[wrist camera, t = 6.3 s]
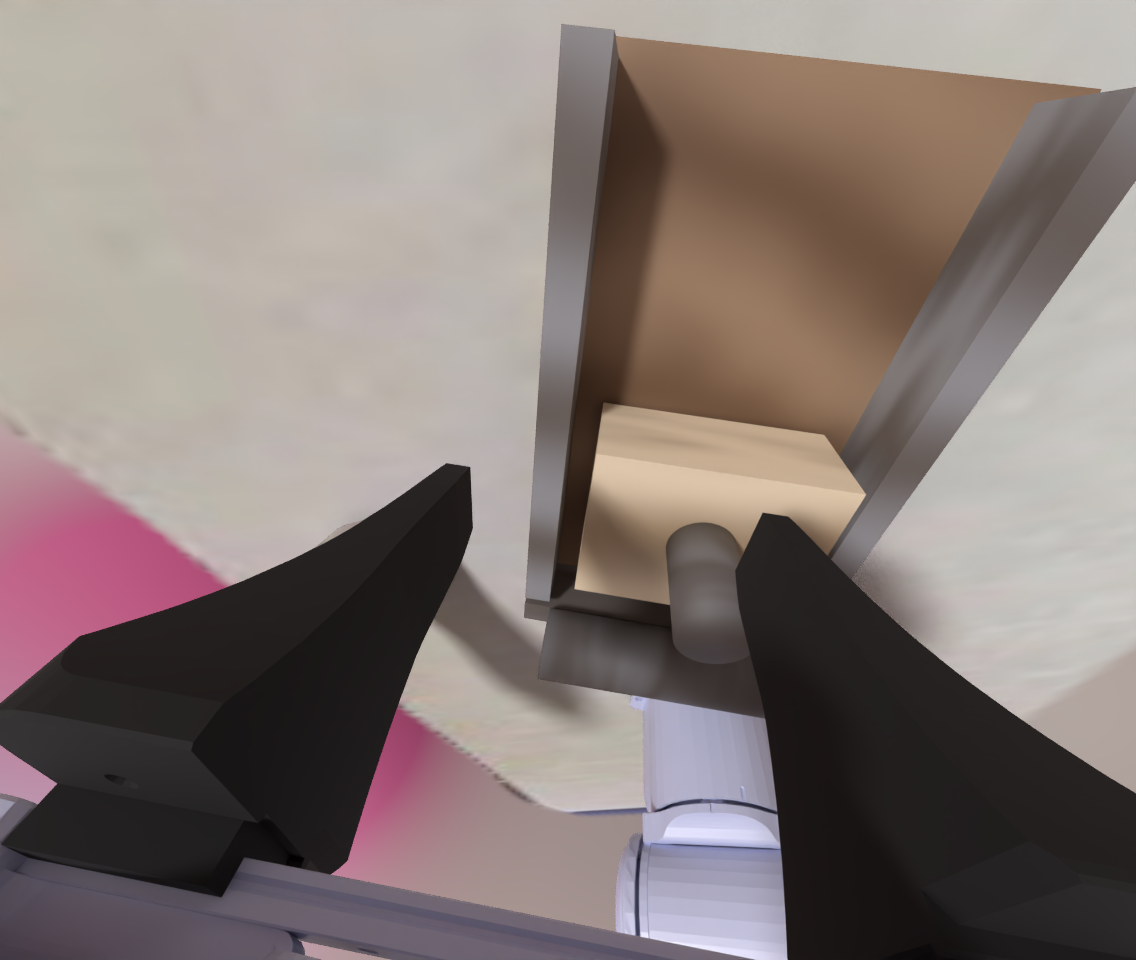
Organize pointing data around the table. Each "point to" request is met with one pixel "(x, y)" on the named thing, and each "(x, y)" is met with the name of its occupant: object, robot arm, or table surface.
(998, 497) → the table surface
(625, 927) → the robot arm
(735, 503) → the tan wooden block
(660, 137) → the bay
